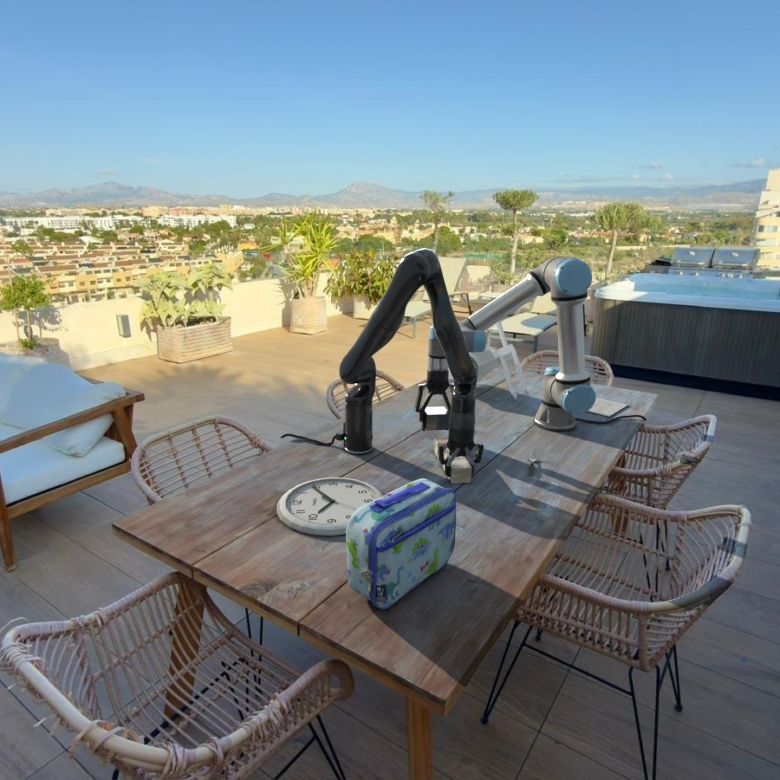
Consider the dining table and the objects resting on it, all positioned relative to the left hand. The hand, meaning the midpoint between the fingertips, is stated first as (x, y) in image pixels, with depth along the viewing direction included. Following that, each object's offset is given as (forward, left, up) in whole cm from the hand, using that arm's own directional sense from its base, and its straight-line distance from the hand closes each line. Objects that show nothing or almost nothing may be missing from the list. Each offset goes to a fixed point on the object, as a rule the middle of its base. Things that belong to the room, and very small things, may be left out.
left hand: (458, 475), depth 159 cm
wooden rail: (-7, +6, -1) cm, 9 cm away
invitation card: (+4, +99, -1) cm, 99 cm away
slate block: (-25, +20, +4) cm, 32 cm away
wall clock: (-15, -37, -1) cm, 40 cm away
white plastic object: (-45, +79, -1) cm, 90 cm away
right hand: (-25, +20, +2) cm, 32 cm away
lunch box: (+20, -48, -1) cm, 52 cm away
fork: (+12, +24, -1) cm, 27 cm away
